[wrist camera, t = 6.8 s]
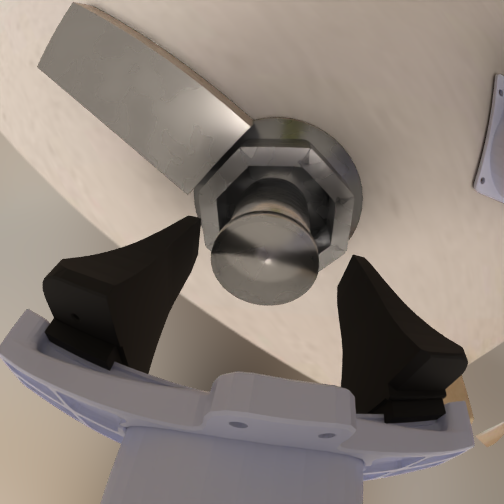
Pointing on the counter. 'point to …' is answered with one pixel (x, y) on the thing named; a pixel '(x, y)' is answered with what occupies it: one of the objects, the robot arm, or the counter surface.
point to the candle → (458, 395)
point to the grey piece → (200, 128)
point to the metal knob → (267, 245)
